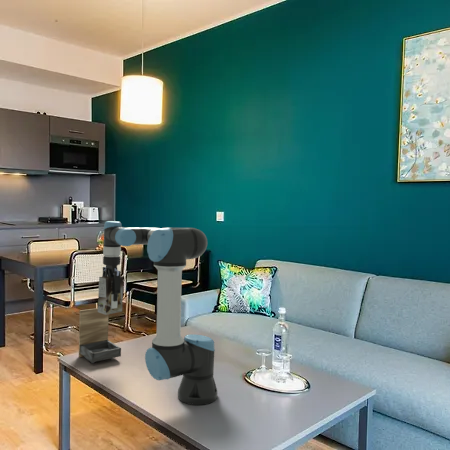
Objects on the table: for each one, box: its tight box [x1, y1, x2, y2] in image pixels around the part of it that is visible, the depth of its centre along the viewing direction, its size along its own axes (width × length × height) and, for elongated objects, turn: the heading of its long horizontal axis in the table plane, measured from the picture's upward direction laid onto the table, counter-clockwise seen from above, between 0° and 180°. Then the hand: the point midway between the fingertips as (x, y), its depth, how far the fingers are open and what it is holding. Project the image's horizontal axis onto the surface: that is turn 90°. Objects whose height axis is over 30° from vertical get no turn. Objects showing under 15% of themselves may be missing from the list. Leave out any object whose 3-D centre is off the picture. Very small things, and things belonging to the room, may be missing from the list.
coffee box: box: [97, 275, 124, 315], centre depth 198 cm, size 9×6×16 cm
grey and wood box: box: [78, 307, 122, 364], centre depth 203 cm, size 15×14×22 cm
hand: (110, 306), depth 198 cm, fingers closed on coffee box, 7 cm apart
